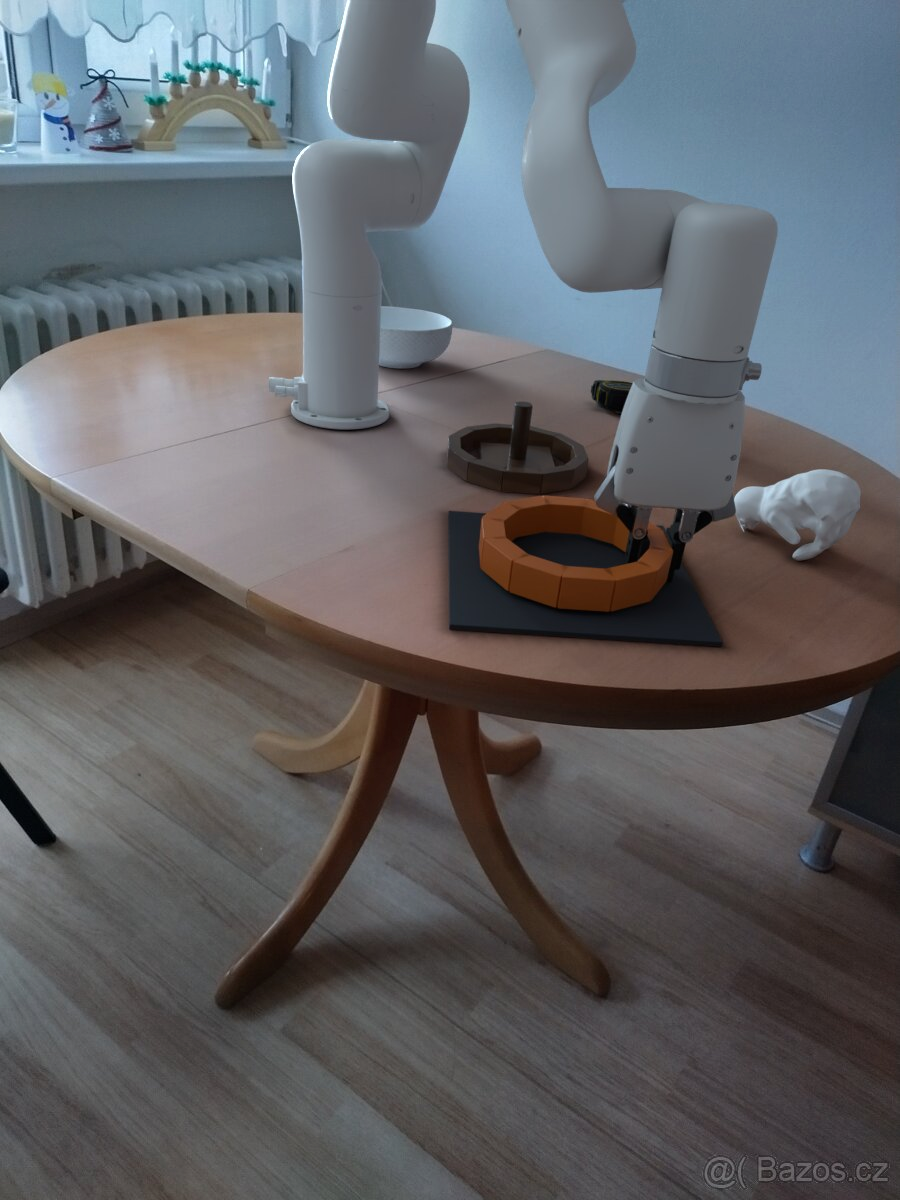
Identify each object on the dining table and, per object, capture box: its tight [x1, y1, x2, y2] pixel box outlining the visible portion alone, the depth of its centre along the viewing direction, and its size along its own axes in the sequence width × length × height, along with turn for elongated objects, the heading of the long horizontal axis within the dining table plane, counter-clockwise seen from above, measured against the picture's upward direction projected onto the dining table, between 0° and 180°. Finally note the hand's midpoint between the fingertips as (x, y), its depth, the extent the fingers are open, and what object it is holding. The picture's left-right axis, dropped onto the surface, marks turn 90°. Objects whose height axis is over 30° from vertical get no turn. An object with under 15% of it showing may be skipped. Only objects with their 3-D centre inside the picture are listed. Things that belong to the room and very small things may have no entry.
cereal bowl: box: [379, 305, 454, 370], centre depth 135 cm, size 17×17×7 cm
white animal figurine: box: [734, 468, 862, 561], centre depth 86 cm, size 6×8×12 cm
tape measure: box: [590, 379, 633, 414], centre depth 122 cm, size 7×7×4 cm
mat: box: [447, 510, 724, 648], centre depth 78 cm, size 22×22×1 cm
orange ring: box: [479, 494, 673, 612], centre depth 77 cm, size 17×17×3 cm
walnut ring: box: [446, 422, 589, 495], centre depth 100 cm, size 16×16×2 cm
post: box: [478, 400, 556, 469], centre depth 99 cm, size 8×8×8 cm
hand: (649, 572), depth 78 cm, fingers closed on orange ring, 2 cm apart
